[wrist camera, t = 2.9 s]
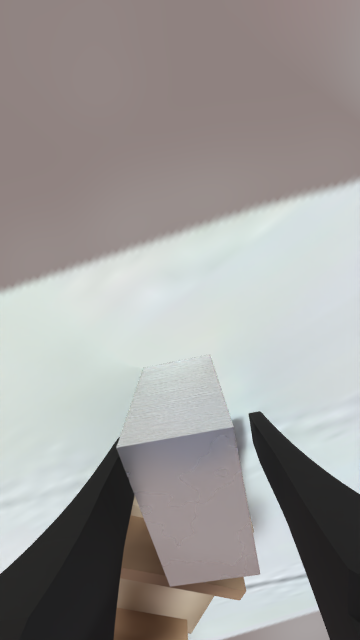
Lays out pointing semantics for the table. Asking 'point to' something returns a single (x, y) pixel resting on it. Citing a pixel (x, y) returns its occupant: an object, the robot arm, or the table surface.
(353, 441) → the table surface
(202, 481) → the aluminium block
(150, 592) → the birch cradle
